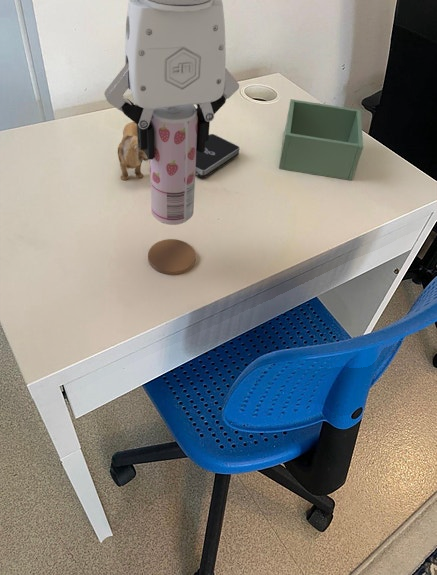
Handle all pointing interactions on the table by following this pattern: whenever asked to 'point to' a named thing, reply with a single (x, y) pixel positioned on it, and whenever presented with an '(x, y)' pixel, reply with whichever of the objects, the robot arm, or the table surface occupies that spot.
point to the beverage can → (173, 163)
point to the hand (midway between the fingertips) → (173, 148)
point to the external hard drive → (214, 155)
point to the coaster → (171, 256)
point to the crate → (322, 140)
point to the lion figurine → (130, 151)
